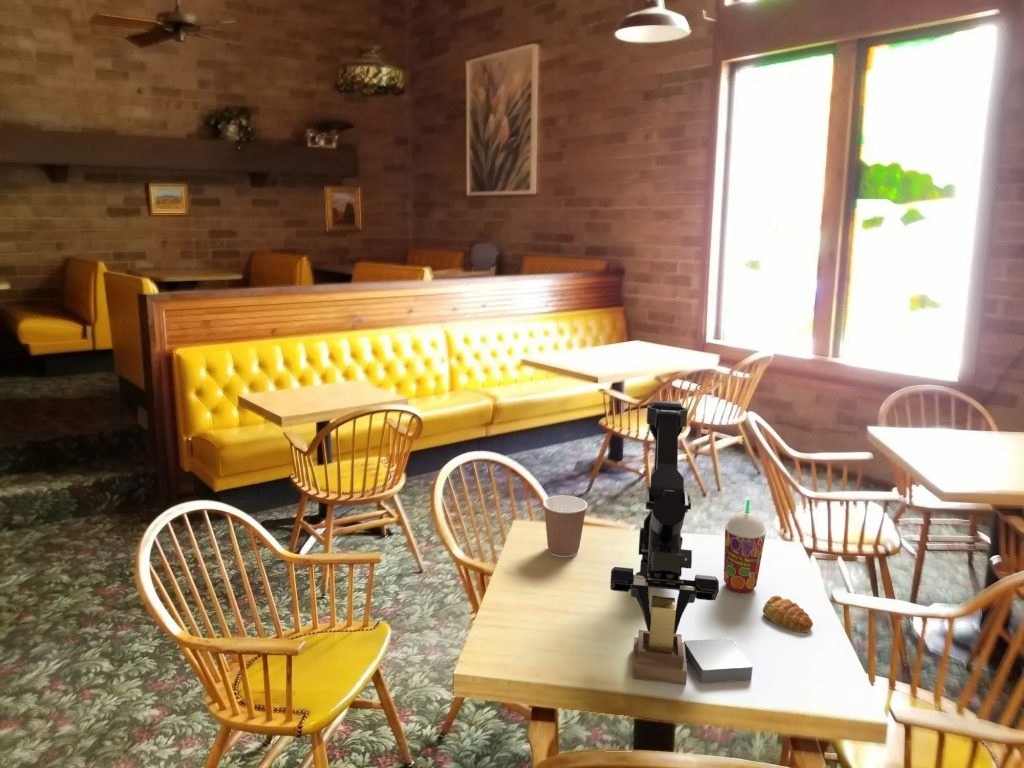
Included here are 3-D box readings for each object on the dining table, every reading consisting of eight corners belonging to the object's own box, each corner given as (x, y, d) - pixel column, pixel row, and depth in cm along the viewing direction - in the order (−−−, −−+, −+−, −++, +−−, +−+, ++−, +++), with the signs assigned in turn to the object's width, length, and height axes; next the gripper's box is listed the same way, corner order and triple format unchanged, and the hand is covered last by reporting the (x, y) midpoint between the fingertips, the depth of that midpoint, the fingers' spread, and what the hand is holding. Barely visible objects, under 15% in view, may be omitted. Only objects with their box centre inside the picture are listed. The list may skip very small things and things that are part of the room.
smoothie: (717, 592, 161) (725, 504, 156) (722, 575, 168) (730, 490, 164) (758, 600, 158) (767, 510, 153) (761, 582, 165) (770, 496, 161)
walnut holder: (633, 649, 139) (634, 627, 138) (683, 655, 138) (685, 632, 137) (632, 678, 131) (634, 655, 130) (686, 684, 129) (688, 661, 128)
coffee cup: (589, 545, 182) (591, 498, 179) (579, 564, 172) (582, 514, 169) (547, 539, 185) (549, 492, 182) (536, 556, 175) (537, 508, 172)
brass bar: (648, 646, 136) (651, 595, 134) (670, 648, 135) (674, 597, 133) (648, 658, 132) (651, 607, 130) (671, 661, 132) (675, 609, 129)
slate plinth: (682, 653, 139) (683, 640, 138) (729, 650, 140) (730, 637, 139) (701, 683, 130) (702, 670, 129) (751, 679, 131) (752, 666, 131)
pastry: (819, 628, 148) (822, 610, 147) (798, 638, 145) (800, 620, 144) (779, 607, 156) (781, 590, 155) (758, 616, 152) (759, 599, 151)
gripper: (613, 525, 134) (607, 613, 126) (722, 534, 131) (723, 626, 123) (613, 547, 143) (607, 630, 135) (714, 556, 140) (715, 642, 132)
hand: (661, 632), depth 131 cm, fingers closed on brass bar, 4 cm apart
